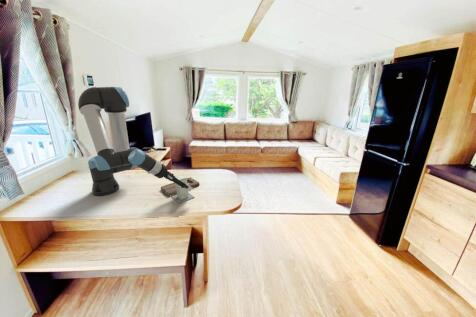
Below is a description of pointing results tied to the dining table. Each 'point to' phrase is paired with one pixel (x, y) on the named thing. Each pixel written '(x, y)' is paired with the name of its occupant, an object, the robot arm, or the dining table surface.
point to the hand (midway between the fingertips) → (185, 185)
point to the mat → (182, 199)
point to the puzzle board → (171, 188)
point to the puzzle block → (182, 192)
